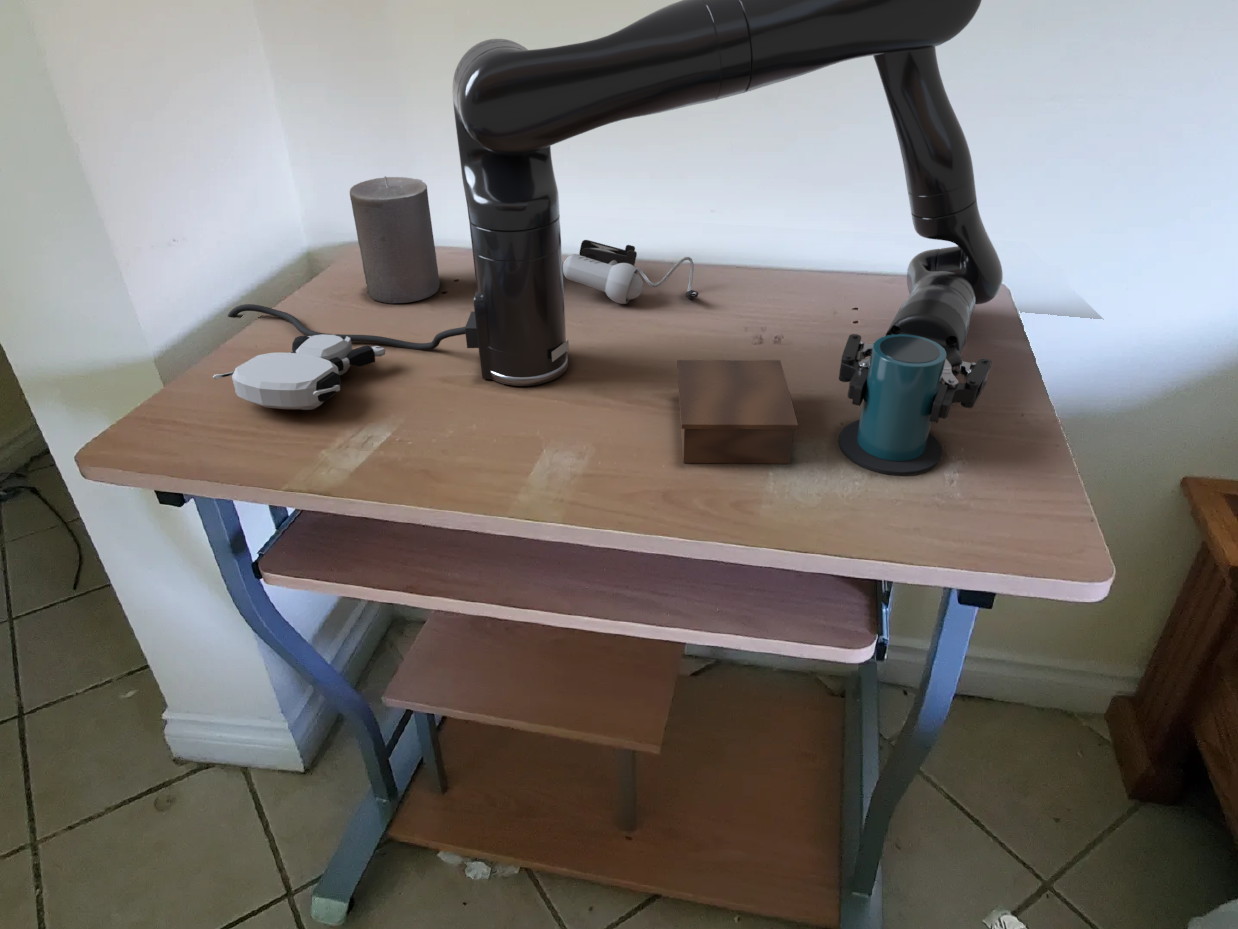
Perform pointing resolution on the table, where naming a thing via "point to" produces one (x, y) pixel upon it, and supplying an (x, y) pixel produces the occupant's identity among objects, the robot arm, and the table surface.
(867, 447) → the tumbler
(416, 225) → the pillar candle
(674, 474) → the table surface
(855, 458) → the coaster
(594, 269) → the clip-on lamp
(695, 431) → the riser
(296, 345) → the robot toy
